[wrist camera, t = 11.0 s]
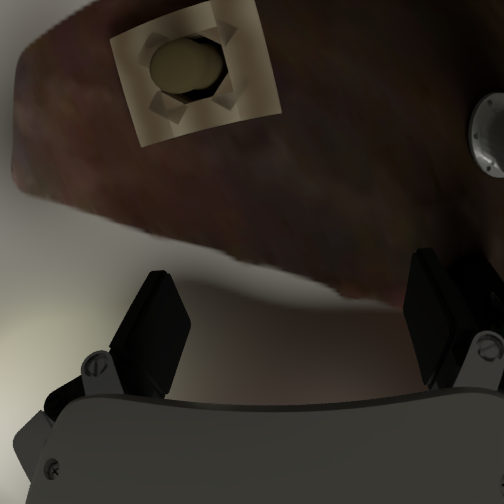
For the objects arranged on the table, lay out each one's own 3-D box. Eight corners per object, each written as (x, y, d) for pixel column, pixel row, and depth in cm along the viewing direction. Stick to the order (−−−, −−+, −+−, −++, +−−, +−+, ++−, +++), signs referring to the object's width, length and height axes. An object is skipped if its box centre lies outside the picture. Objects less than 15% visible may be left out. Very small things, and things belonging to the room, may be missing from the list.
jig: (254, -1, 24) (251, -10, 21) (281, 108, 31) (281, 112, 28) (125, 40, 27) (109, 39, 24) (154, 139, 34) (141, 147, 31)
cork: (173, 86, 30) (133, 95, 21) (185, 39, 27) (147, 29, 18) (222, 95, 31) (199, 106, 22) (235, 47, 28) (217, 37, 19)
